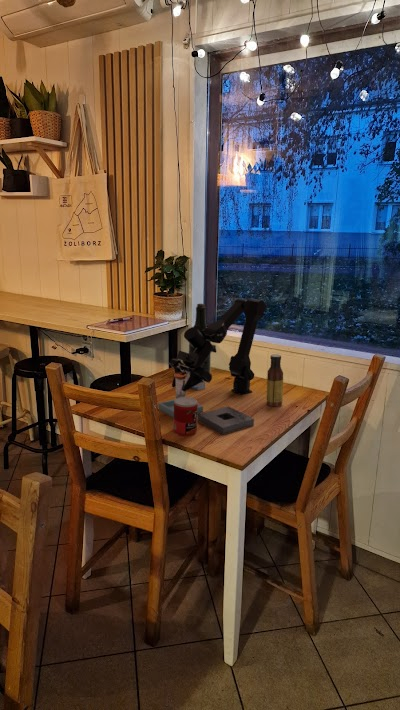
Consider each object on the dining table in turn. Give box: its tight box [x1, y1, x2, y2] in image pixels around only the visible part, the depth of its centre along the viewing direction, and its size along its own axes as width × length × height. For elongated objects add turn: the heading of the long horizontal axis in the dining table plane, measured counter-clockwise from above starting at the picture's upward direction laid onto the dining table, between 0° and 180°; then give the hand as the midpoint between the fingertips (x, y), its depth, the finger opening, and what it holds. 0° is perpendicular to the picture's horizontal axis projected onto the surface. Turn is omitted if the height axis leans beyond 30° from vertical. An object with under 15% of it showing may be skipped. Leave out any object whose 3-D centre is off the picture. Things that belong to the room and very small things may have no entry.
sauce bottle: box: [266, 353, 284, 407], centre depth 185 cm, size 6×6×20 cm
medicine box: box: [185, 371, 207, 391], centre depth 204 cm, size 8×4×9 cm, turn 42°
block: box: [197, 405, 255, 435], centre depth 168 cm, size 14×14×2 cm
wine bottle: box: [188, 303, 212, 374], centre depth 219 cm, size 10×10×33 cm
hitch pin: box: [173, 371, 187, 399], centre depth 176 cm, size 5×5×14 cm
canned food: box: [173, 396, 199, 437], centre depth 159 cm, size 8×8×11 cm
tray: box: [157, 398, 204, 419], centre depth 177 cm, size 12×12×2 cm
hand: (177, 388), depth 175 cm, fingers open, 6 cm apart
